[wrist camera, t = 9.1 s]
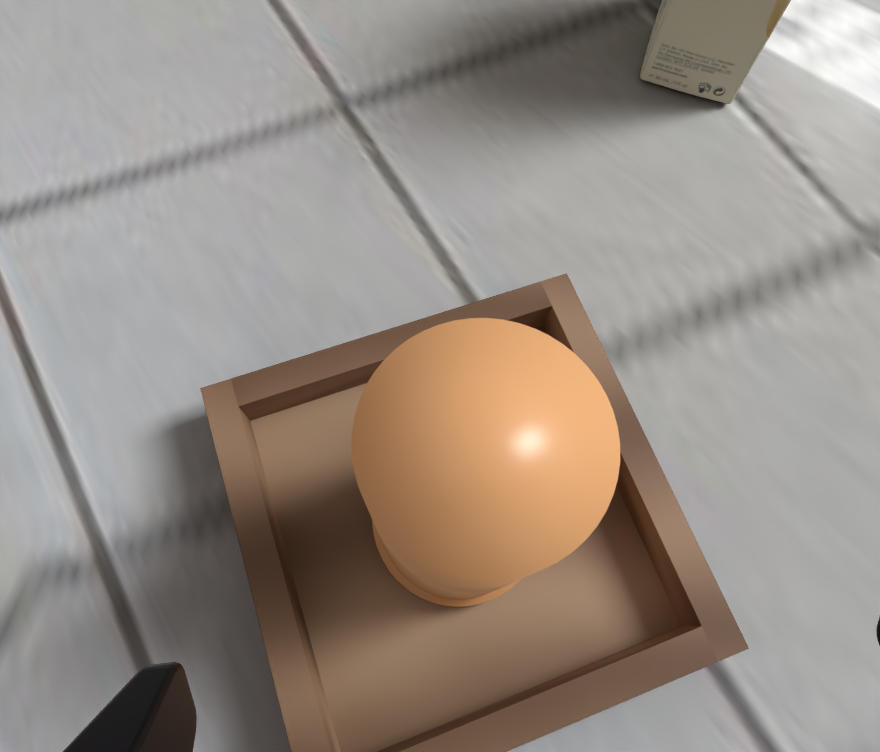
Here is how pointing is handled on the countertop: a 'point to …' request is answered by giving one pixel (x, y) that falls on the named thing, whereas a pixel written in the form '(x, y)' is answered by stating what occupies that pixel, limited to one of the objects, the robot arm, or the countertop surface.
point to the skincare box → (708, 44)
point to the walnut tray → (435, 626)
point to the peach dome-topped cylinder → (482, 457)
